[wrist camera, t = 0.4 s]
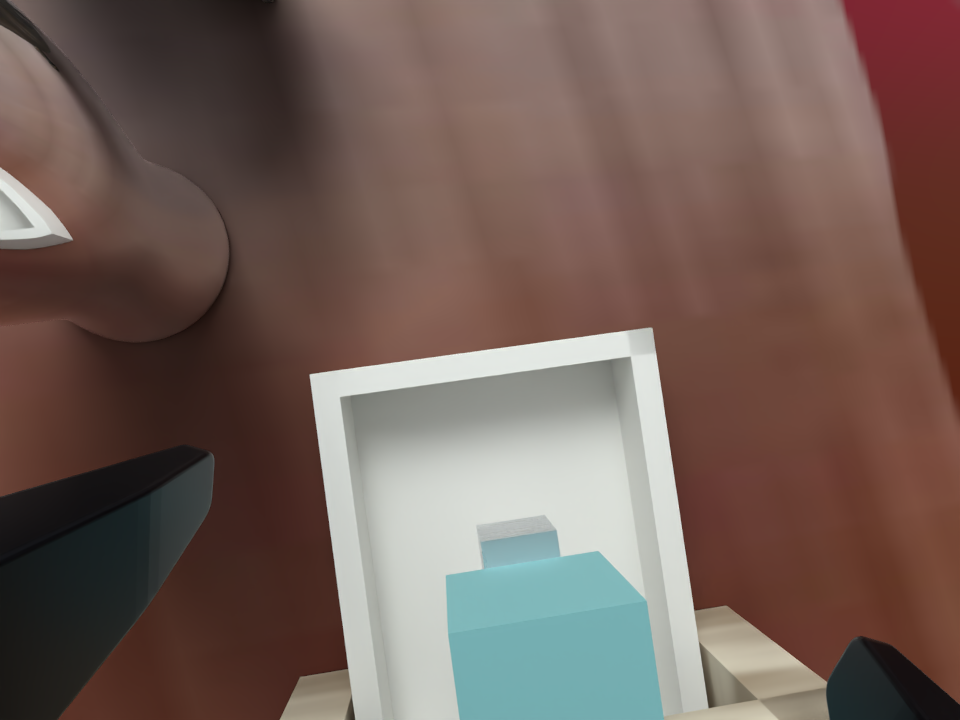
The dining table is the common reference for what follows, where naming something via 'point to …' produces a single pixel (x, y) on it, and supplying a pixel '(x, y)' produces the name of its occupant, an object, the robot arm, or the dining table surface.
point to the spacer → (551, 642)
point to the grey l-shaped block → (517, 541)
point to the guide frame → (730, 715)
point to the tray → (496, 499)
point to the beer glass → (92, 208)
